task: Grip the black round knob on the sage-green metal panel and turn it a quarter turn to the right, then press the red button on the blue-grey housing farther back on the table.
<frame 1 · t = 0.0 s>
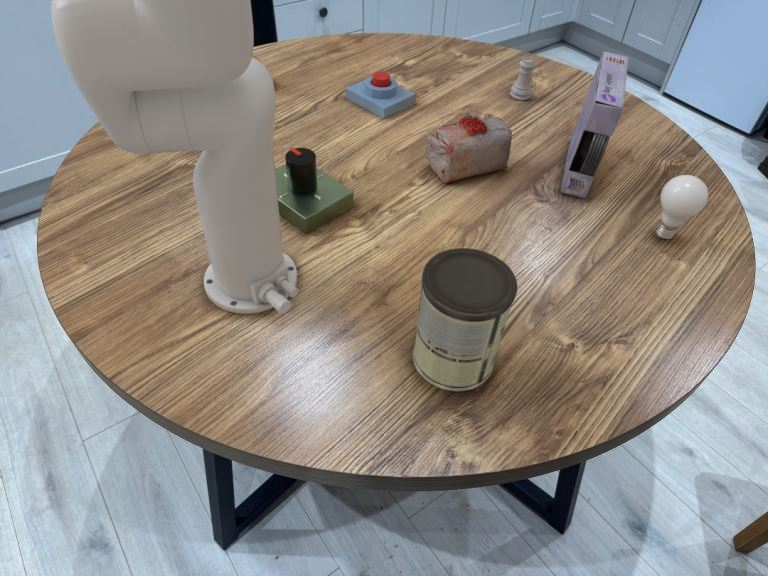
coffee can: (452, 359, 72), on the table
start button: (381, 79, 113), point 4 cm above the table, slide at 0.1 cm
knob console: (303, 201, 92), on the table
cake pan box: (577, 171, 102), on the table
lightbulb: (662, 237, 90), on the table
dial knob: (301, 170, 88), point 6 cm above the table, hinge at 0.0°
button box: (380, 101, 116), on the table
rook chess piece: (519, 97, 121), on the table
food item: (464, 169, 101), on the table
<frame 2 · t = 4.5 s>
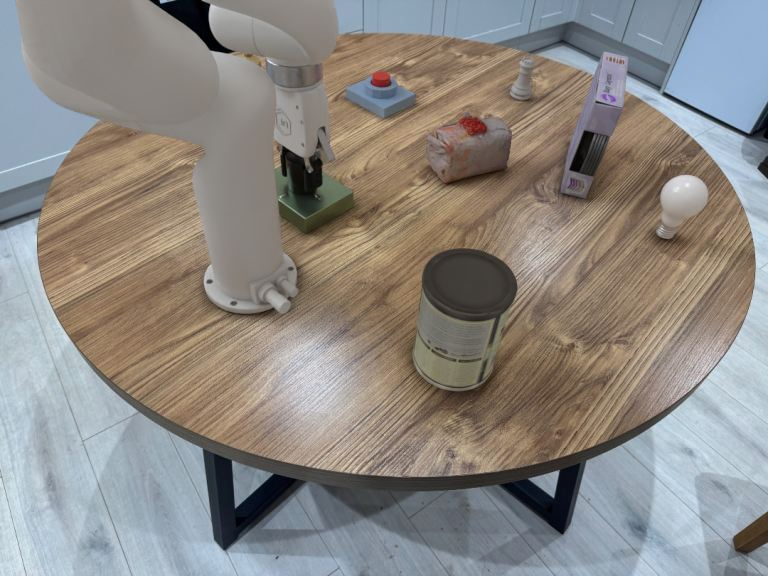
hand: (302, 179, 89), 4 cm above the table, tool pointing down, fingers closed on dial knob, 4 cm apart
dial knob: (301, 170, 88), point 6 cm above the table, hinge at 0.0°, touching gripper
everything else where it was.
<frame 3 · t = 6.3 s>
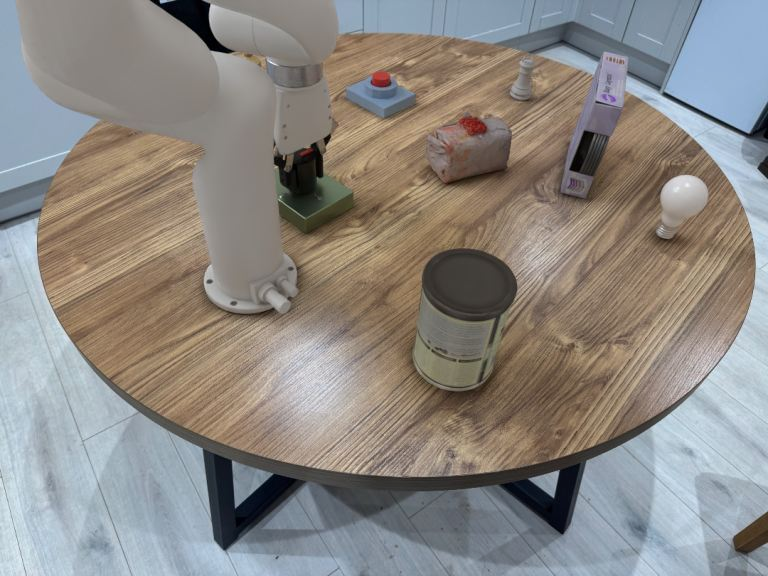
hand: (302, 179, 89), 4 cm above the table, tool pointing down, fingers closed on dial knob, 4 cm apart
dial knob: (301, 170, 88), point 6 cm above the table, hinge at -90.8°, touching gripper
everything else where it was.
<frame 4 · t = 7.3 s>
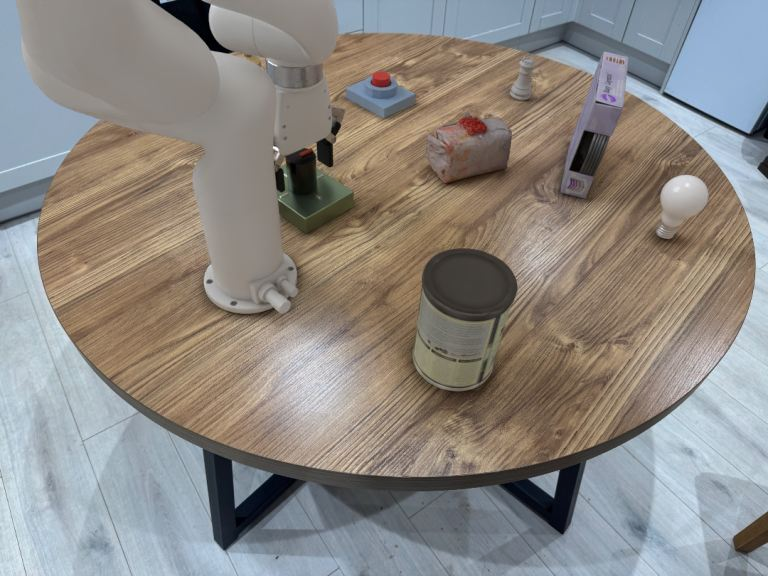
hand: (301, 175, 89), 5 cm above the table, tool pointing down, fingers open, 9 cm apart
dial knob: (301, 170, 88), point 6 cm above the table, hinge at -90.6°
everything else where it was.
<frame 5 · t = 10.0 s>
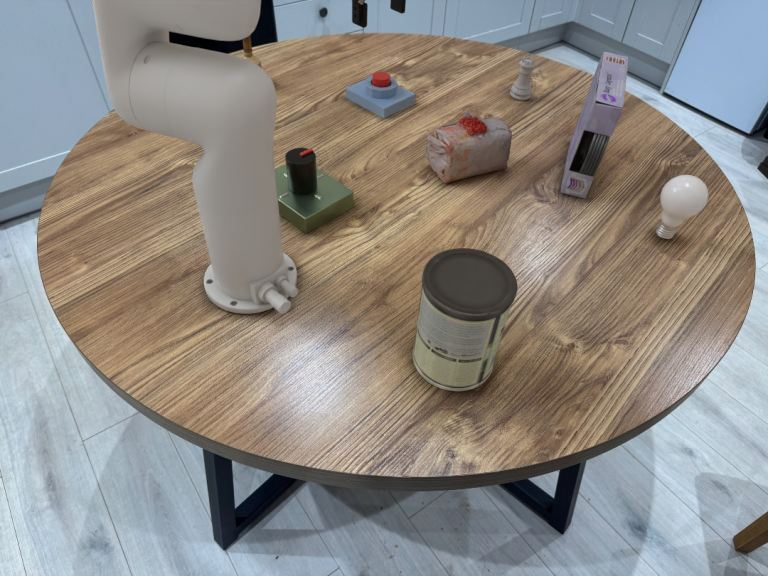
hand: (378, 17, 102), 17 cm above the table, tool pointing down, fingers open, 9 cm apart
nothing on the table moved.
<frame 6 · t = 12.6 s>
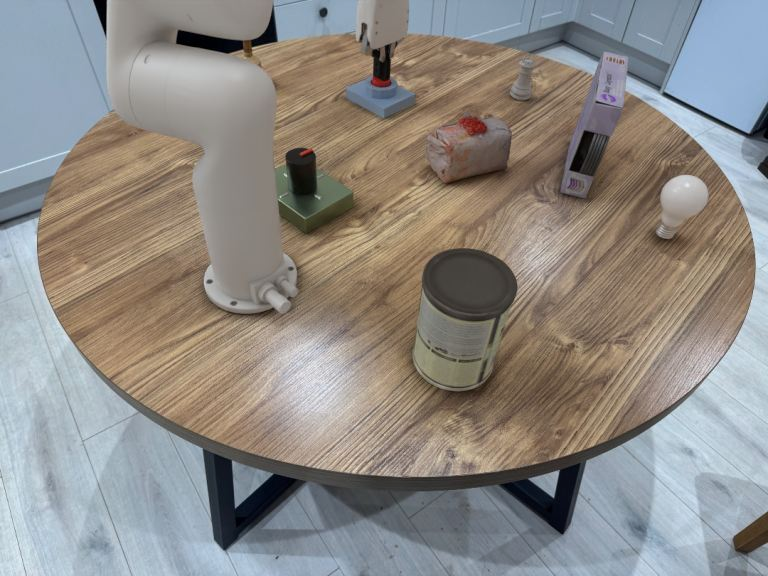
hand: (381, 77, 113), 5 cm above the table, tool pointing down, fingers closed
start button: (381, 81, 113), point 4 cm above the table, slide at -0.3 cm, touching gripper
everything else where it was.
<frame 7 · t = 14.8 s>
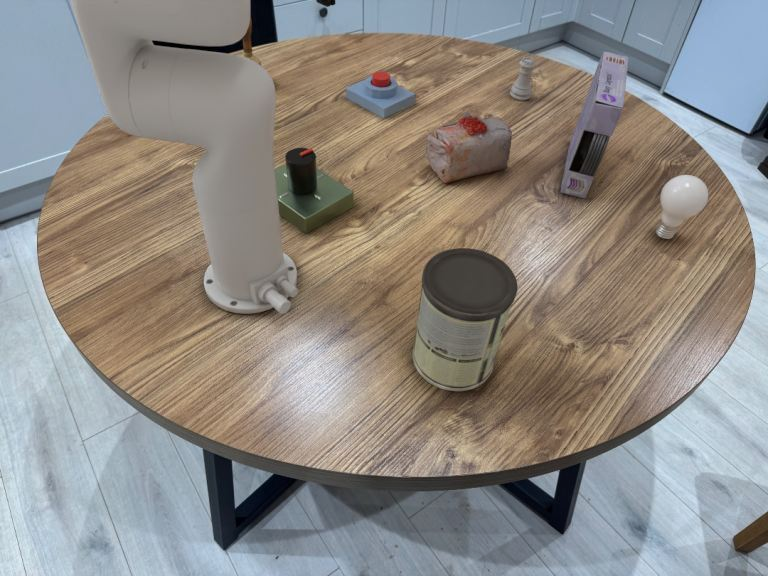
hand: (325, 3, 97), 21 cm above the table, tool pointing down, fingers closed
start button: (381, 79, 113), point 4 cm above the table, slide at 0.1 cm
everything else where it was.
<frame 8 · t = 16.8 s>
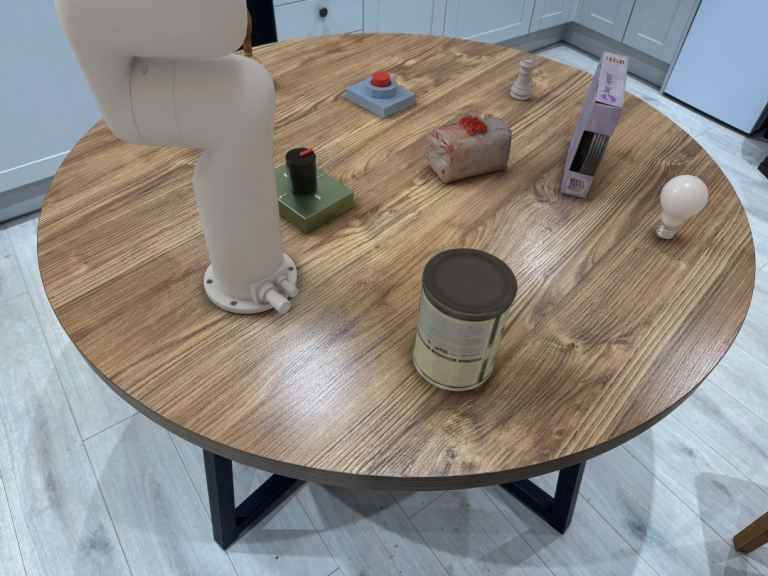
nothing on the table moved.
at the end: dial knob at -91° (first picture: +0°); start button pushed in 1.1 cm at the most during the clip, back to where it started at the end; start button slide at 0.1 cm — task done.
